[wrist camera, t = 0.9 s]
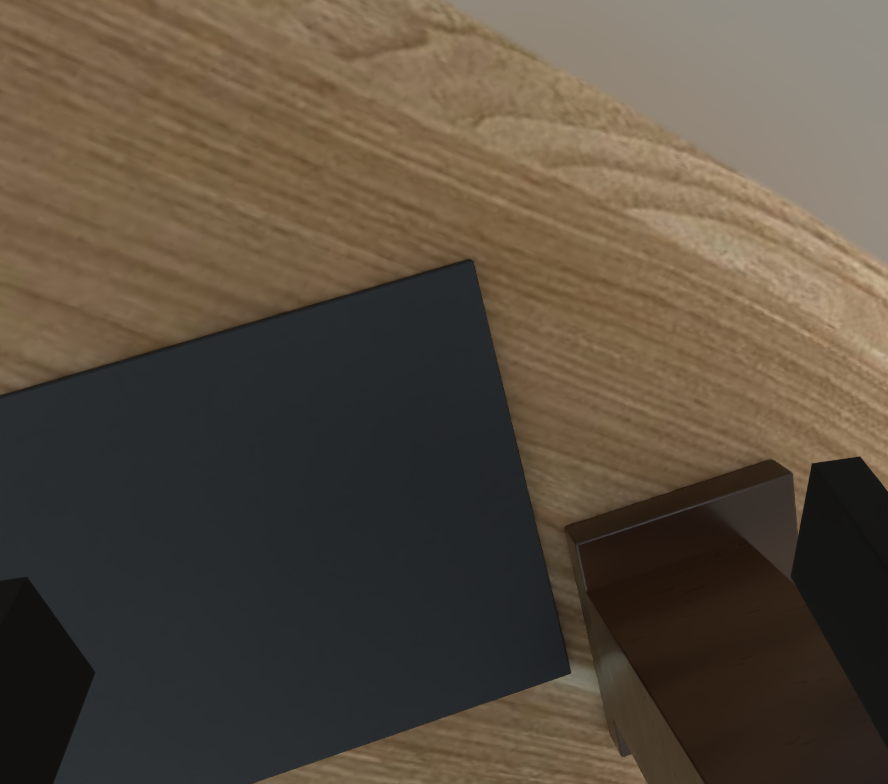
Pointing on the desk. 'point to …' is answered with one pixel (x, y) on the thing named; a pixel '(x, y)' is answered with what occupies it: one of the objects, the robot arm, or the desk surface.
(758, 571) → the stand
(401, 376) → the mat
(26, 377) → the desk surface
